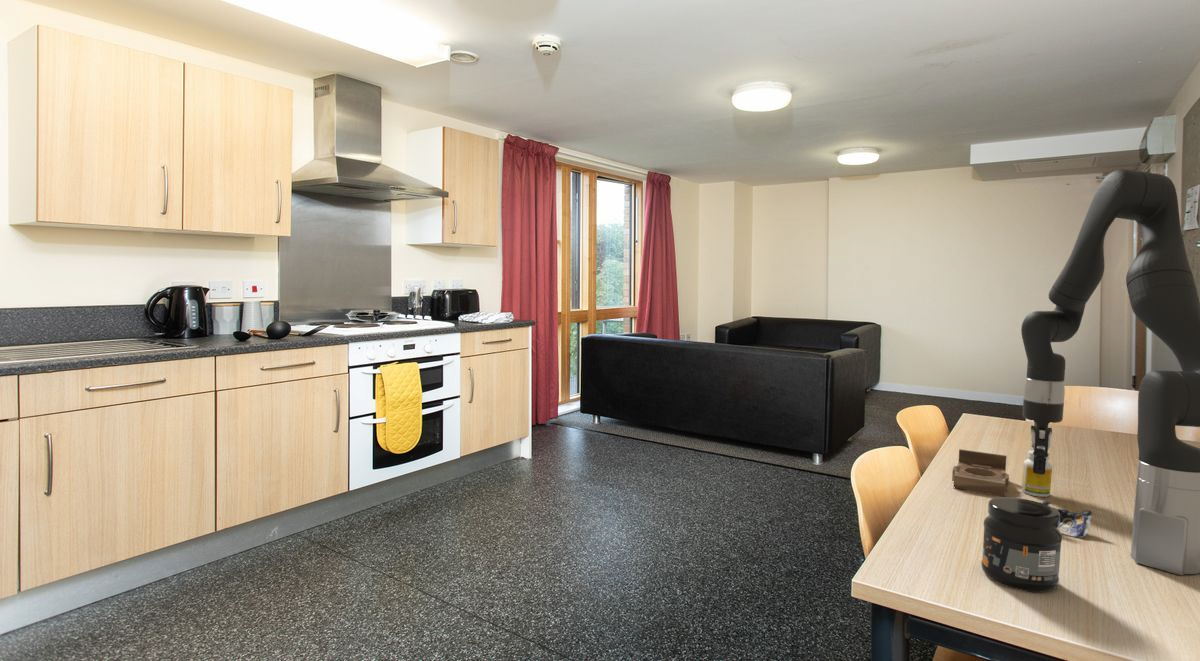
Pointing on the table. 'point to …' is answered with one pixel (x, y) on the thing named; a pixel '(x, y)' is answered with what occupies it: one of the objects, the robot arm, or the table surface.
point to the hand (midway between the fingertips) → (1038, 468)
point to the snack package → (1074, 521)
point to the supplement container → (1022, 544)
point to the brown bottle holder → (981, 472)
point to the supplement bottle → (1036, 478)
